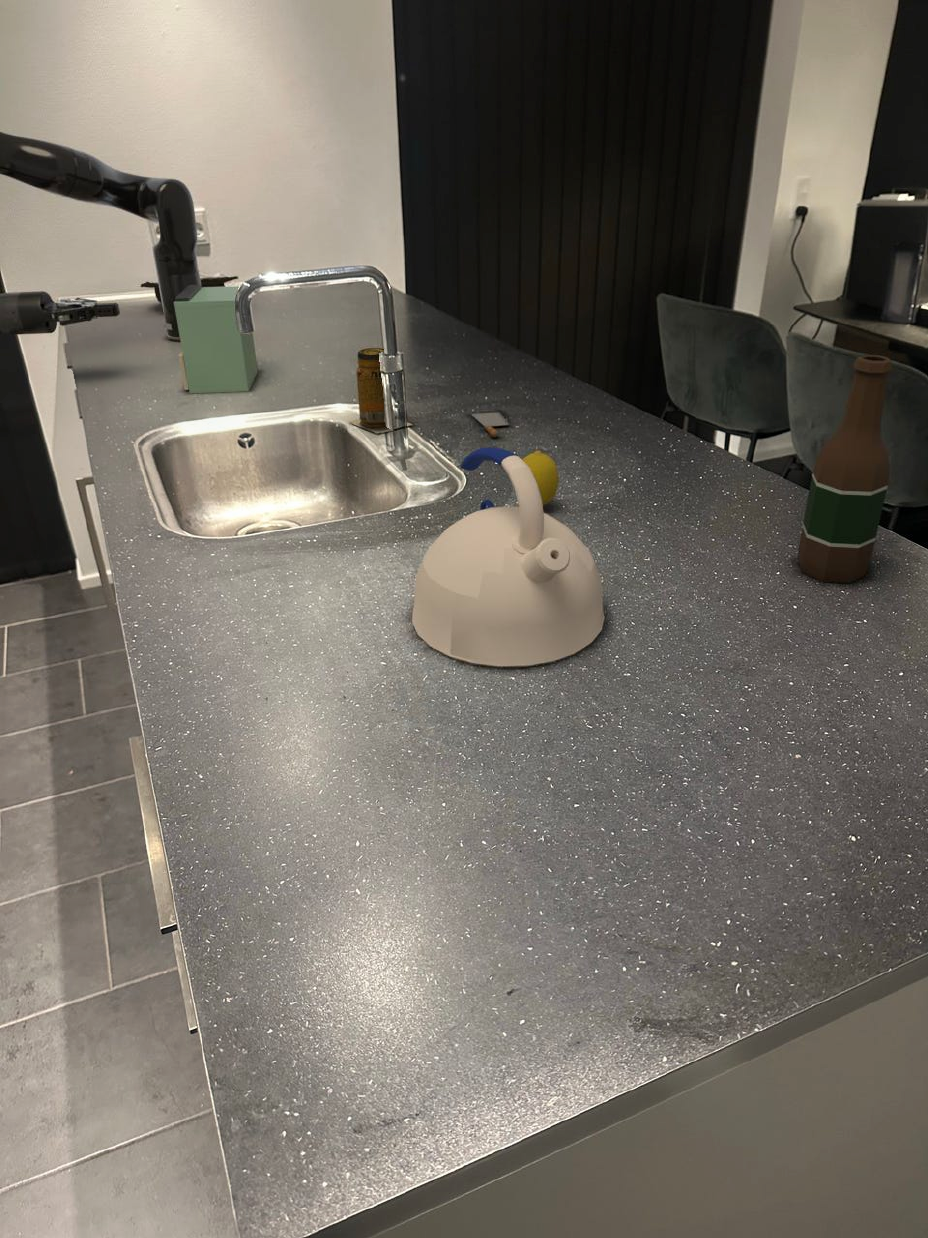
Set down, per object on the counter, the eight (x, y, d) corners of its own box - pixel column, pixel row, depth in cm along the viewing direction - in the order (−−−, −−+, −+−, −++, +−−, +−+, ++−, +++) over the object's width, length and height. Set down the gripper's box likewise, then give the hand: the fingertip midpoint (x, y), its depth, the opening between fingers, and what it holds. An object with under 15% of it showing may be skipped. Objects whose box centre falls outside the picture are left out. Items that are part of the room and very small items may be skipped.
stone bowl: (192, 321, 222) (183, 281, 218) (127, 318, 235) (117, 281, 231) (262, 301, 240) (255, 264, 235) (198, 300, 253) (190, 265, 248)
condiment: (383, 414, 156) (379, 343, 150) (412, 425, 151) (409, 352, 144) (348, 423, 152) (342, 351, 146) (376, 435, 147) (371, 360, 141)
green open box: (202, 373, 181) (188, 284, 173) (258, 371, 182) (246, 282, 173) (189, 393, 169) (173, 298, 161) (248, 391, 170) (235, 296, 161)
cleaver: (498, 415, 156) (470, 417, 155) (498, 408, 156) (470, 410, 155) (520, 436, 145) (490, 439, 144) (520, 428, 144) (490, 431, 143)
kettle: (458, 691, 84) (454, 512, 75) (385, 594, 100) (373, 437, 91) (644, 642, 90) (660, 472, 81) (546, 558, 107) (551, 409, 98)
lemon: (529, 520, 117) (530, 461, 113) (508, 505, 121) (508, 448, 117) (565, 511, 119) (567, 453, 115) (543, 497, 123) (544, 441, 119)
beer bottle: (859, 591, 99) (909, 371, 87) (787, 574, 102) (825, 361, 90) (873, 563, 104) (922, 353, 92) (804, 548, 108) (843, 344, 96)
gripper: (6, 299, 162) (104, 295, 163) (31, 285, 173) (122, 281, 174) (17, 341, 166) (113, 337, 167) (41, 325, 177) (130, 321, 178)
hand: (118, 309), depth 171 cm, fingers closed
